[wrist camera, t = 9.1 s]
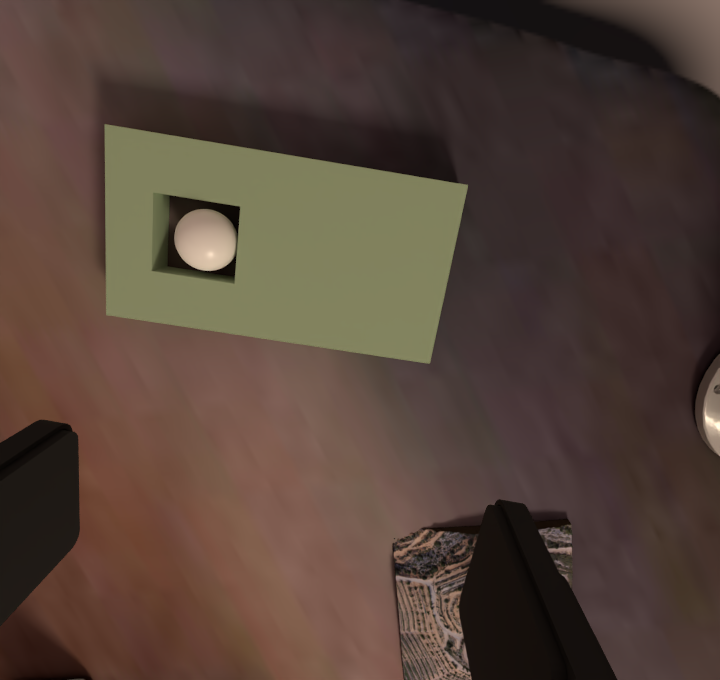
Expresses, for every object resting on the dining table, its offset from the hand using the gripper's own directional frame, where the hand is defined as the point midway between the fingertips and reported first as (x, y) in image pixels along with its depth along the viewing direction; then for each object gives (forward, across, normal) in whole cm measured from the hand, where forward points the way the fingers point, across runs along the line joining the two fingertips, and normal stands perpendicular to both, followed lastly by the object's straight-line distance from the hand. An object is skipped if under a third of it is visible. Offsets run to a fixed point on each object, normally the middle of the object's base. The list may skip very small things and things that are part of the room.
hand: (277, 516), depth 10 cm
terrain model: (+25, -16, +27) cm, 40 cm away
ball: (+21, +10, -3) cm, 23 cm away
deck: (+23, +5, -3) cm, 24 cm away
